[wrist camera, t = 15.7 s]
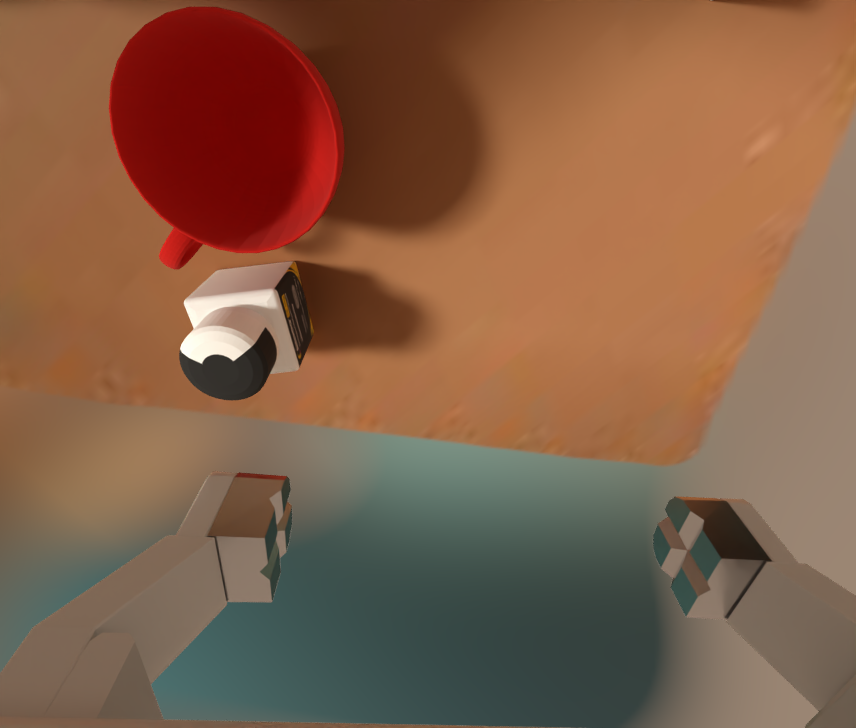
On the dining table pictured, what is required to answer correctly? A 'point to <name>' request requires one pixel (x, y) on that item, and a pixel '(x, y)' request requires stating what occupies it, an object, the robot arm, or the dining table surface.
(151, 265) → the dining table surface
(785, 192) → the dining table surface
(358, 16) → the dining table surface
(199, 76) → the ceramic cup
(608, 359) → the dining table surface
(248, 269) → the medicine bottle
